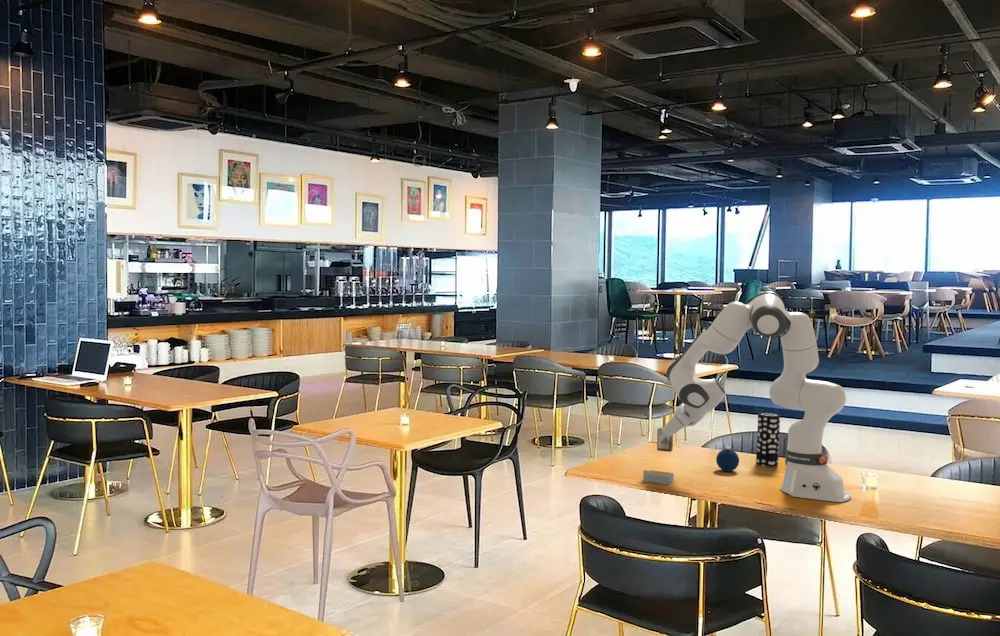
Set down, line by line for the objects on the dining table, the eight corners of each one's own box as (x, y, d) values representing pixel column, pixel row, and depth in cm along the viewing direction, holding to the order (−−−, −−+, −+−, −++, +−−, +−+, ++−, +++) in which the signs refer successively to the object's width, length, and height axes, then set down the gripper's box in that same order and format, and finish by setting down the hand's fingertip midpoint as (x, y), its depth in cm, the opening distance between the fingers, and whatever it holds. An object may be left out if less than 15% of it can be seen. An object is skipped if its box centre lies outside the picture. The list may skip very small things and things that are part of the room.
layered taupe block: (672, 450, 310) (673, 429, 310) (670, 452, 308) (670, 430, 307) (659, 449, 313) (659, 427, 312) (656, 450, 310) (657, 429, 309)
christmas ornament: (736, 469, 323) (737, 443, 322) (740, 474, 314) (741, 447, 314) (714, 468, 324) (715, 442, 323) (717, 472, 315) (718, 446, 315)
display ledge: (673, 479, 302) (673, 468, 301) (668, 484, 294) (668, 473, 294) (648, 476, 305) (649, 466, 305) (643, 481, 298) (643, 470, 298)
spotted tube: (773, 468, 326) (776, 417, 326) (752, 464, 331) (755, 414, 331) (781, 464, 333) (783, 414, 332) (760, 461, 338) (762, 412, 337)
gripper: (688, 403, 316) (662, 426, 321) (676, 411, 297) (648, 436, 302) (700, 416, 314) (674, 439, 319) (688, 425, 296) (660, 449, 301)
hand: (661, 437), depth 310 cm, fingers closed on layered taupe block, 3 cm apart
